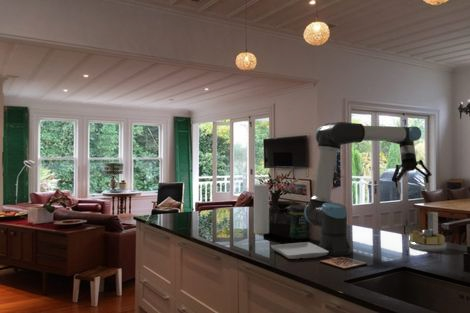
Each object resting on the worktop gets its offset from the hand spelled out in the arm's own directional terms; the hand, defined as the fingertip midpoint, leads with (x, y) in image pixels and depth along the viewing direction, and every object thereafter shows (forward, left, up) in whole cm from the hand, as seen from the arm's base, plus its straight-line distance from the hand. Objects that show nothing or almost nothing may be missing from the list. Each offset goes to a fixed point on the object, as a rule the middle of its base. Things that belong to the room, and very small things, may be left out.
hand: (412, 191), depth 205 cm
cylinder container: (-74, +43, -28) cm, 90 cm away
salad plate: (-67, -13, -29) cm, 74 cm away
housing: (+1, -10, -28) cm, 30 cm away
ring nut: (+1, -10, -24) cm, 27 cm away
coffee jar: (-56, +24, -28) cm, 67 cm away
